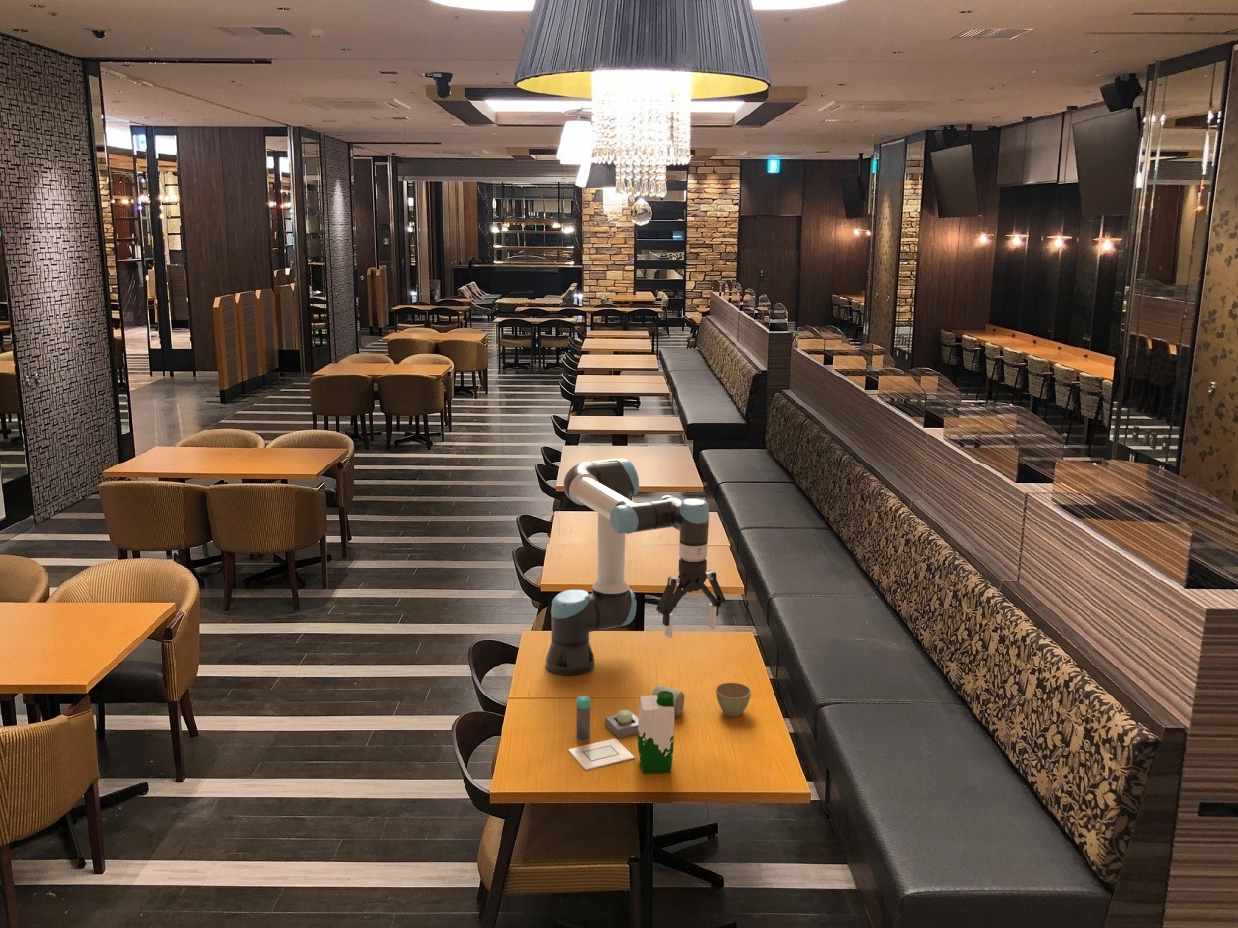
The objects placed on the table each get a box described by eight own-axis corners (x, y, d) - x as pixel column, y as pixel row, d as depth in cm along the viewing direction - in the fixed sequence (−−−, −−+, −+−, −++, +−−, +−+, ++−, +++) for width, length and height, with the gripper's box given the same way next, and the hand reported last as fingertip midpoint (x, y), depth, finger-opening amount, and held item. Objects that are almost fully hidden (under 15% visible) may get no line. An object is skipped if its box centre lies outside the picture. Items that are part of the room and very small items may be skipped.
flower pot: (754, 709, 300) (755, 686, 298) (743, 724, 291) (744, 700, 289) (721, 701, 304) (722, 679, 302) (709, 716, 295) (710, 693, 293)
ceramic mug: (677, 721, 292) (678, 695, 290) (649, 715, 295) (650, 690, 293) (688, 705, 302) (689, 680, 300) (661, 700, 305) (662, 675, 303)
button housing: (604, 724, 289) (605, 716, 289) (630, 718, 293) (630, 711, 292) (617, 737, 282) (618, 729, 282) (644, 731, 286) (644, 723, 285)
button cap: (614, 721, 288) (614, 711, 287) (627, 718, 290) (627, 708, 289) (621, 727, 285) (621, 717, 284) (634, 724, 286) (634, 714, 286)
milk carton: (674, 774, 265) (677, 702, 260) (639, 775, 264) (640, 703, 259) (670, 756, 273) (672, 686, 268) (635, 757, 272) (637, 687, 268)
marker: (573, 738, 282) (574, 697, 279) (586, 735, 283) (586, 694, 280) (579, 744, 279) (580, 703, 276) (592, 741, 280) (592, 700, 277)
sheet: (568, 750, 275) (568, 748, 275) (615, 739, 282) (615, 737, 281) (585, 770, 266) (585, 768, 266) (634, 758, 272) (634, 756, 272)
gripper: (658, 568, 269) (656, 644, 274) (740, 555, 280) (736, 629, 285) (644, 559, 275) (643, 634, 280) (725, 547, 286) (722, 619, 291)
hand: (690, 631), depth 283 cm, fingers open, 13 cm apart
